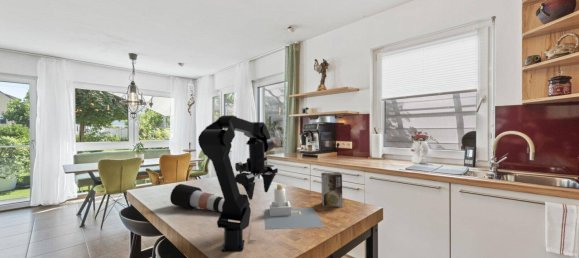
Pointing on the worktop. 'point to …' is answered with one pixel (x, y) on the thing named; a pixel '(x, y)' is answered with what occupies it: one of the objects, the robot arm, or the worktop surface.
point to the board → (291, 217)
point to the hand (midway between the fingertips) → (258, 195)
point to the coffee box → (332, 189)
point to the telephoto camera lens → (195, 198)
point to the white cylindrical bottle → (279, 196)
